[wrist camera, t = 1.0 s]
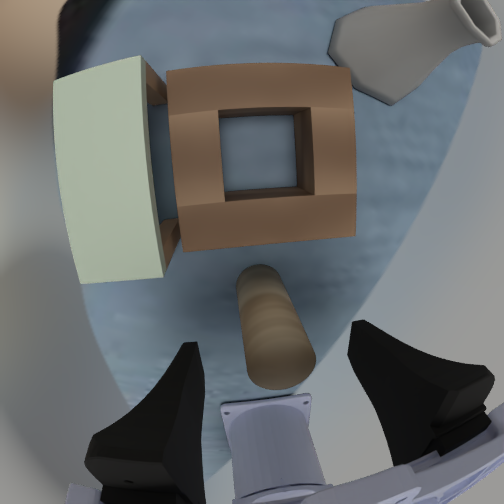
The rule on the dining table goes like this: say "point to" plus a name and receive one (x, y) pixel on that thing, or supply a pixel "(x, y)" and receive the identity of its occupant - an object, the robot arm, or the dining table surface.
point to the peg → (272, 331)
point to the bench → (111, 172)
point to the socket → (306, 144)
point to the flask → (407, 42)
